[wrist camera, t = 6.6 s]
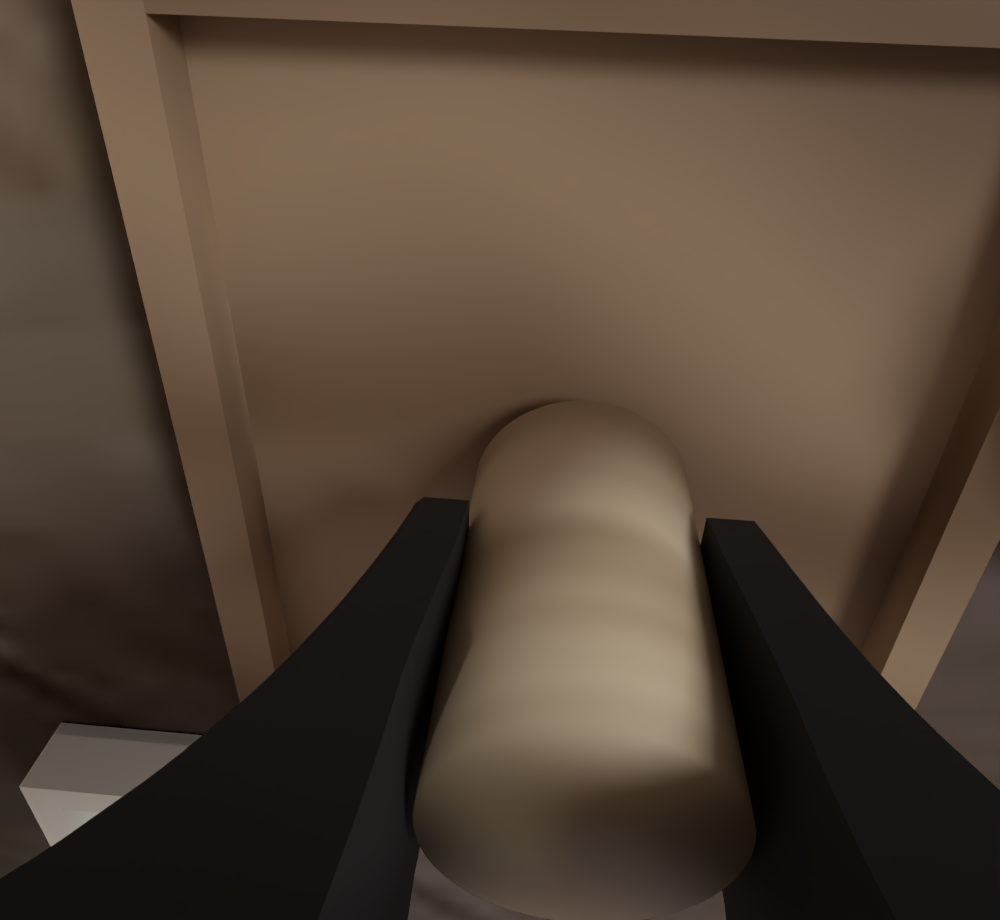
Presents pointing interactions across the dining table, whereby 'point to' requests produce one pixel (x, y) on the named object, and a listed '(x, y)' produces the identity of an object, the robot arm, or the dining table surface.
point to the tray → (570, 274)
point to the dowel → (583, 684)
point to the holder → (93, 772)
